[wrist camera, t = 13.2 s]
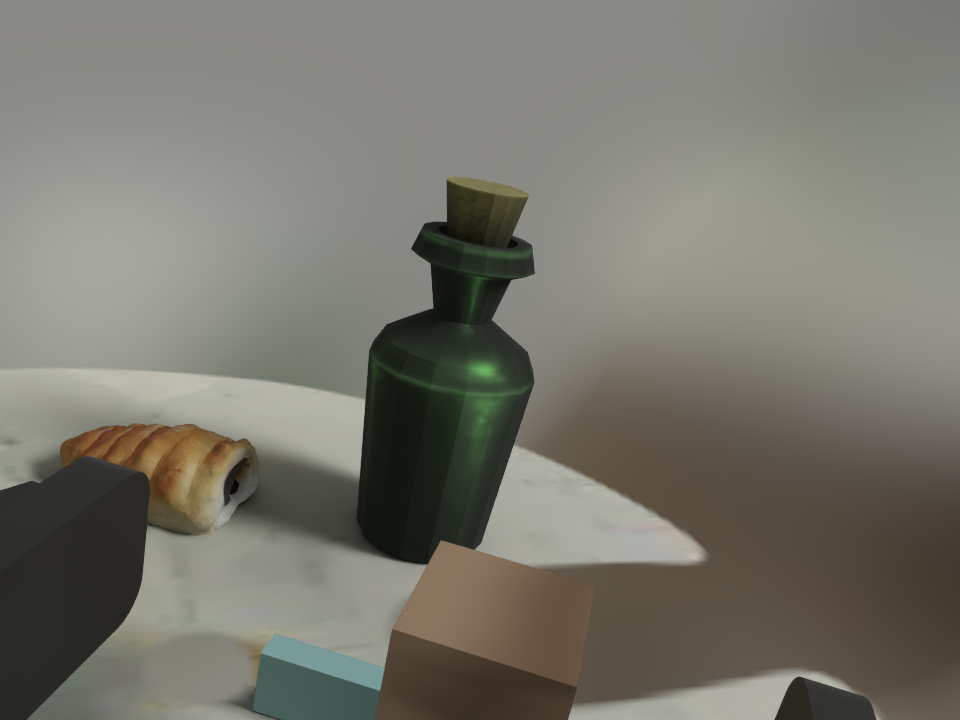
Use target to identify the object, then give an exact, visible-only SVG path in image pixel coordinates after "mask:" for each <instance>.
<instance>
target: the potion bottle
mask: <svg viewBox="0 0 960 720" xmlns="http://www.w3.org/2000/svg"><path fill="white" fill-rule="evenodd" d="M528 197H529V195H528V193H526V192H524V191H522V190H519V189H516V188H513V187H510V186H506V185H502V184H498V183H494V182H489V181H484V180H479V179H472V178H465V177H448V178H447V222H430V223H425V224H424V226H423V228H422V229H421V231H420V233H419V235H418V237H417V239H416V241H415V242H414V244H413V246H412V248H411V249H412V250H413V251H414V252H415V253H416V254H417V255H419V256H420V257H422V258H423V259H425V260H426V261H428V262H429V263H431V276H432V291H433V307H434V308H433V309H429V310H426V311H423V312H421V313H417V314H414V315H412V316H409V317H406V318H403V319H400V320H397V321H395V322H392V323H390V324H387V325H386V326H385V327H384V329H383V330H382V331H381V332H380V333H379V335H378V336H377V337H376V338H375V340H374V341H373V343H372V346H371V348H370V350H369V362H368V376H367V389H366V402H365V416H364V429H363V443H362V456H361V469H360V483H359V496H358V510H357V521H358V523H359V526H360V528H361V530H362V532H363V534H364V535H365V537H366V538H367V539H368V540H369V541H371V542H372V543H373V544H374V545H375V546H377V547H378V548H379V549H380V550H382V551H384V552H386V553H389V554H391V555H393V556H396V557H398V558H400V559H404V560H409V561H415V562H420V563H425V564H426V563H429V561H430V560H431V558H432V556H433V554H434V552H435V550H436V549H437V547H438V545H439V543H440V541H441V540H442V541H445V542H449V543H452V544H455V545H459V546H462V547H465V548H469V549H472V550H475V549H476V548H477V547H478V546H479V545H480V543H481V541H482V538H483V535H484V532H485V529H486V526H487V523H488V520H489V517H490V514H491V511H492V508H493V505H494V502H495V499H496V496H497V493H498V490H499V487H500V484H501V481H502V478H503V475H504V472H505V469H506V466H507V463H508V460H509V457H510V454H511V451H512V448H513V445H514V442H515V439H516V436H517V433H518V430H519V427H520V424H521V421H522V418H523V415H524V412H525V409H526V406H527V403H528V400H529V396H530V394H531V391H532V388H533V385H534V375H533V369H532V366H531V362H530V359H529V355H528V352H527V351H525V349H523V348H522V347H521V346H520V345H519V344H518V343H517V342H516V341H515V340H513V339H512V338H511V337H510V336H509V335H508V334H507V333H506V332H504V331H503V330H502V329H501V328H500V327H499V326H498V325H497V324H496V323H494V322H493V321H492V318H493V316H494V314H495V312H496V309H497V307H498V305H499V303H500V301H501V299H502V297H503V295H504V293H505V291H506V289H507V287H508V285H509V283H510V281H511V280H513V279H518V278H524V277H528V276H530V275H533V274H535V272H534V260H533V250H532V245H531V244H529V243H527V242H526V241H524V240H523V239H520V238H517V237H515V236H512V234H513V232H514V229H515V227H516V225H517V222H518V220H519V218H520V215H521V213H522V211H523V208H524V206H525V204H526V201H527V199H528Z"/></svg>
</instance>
